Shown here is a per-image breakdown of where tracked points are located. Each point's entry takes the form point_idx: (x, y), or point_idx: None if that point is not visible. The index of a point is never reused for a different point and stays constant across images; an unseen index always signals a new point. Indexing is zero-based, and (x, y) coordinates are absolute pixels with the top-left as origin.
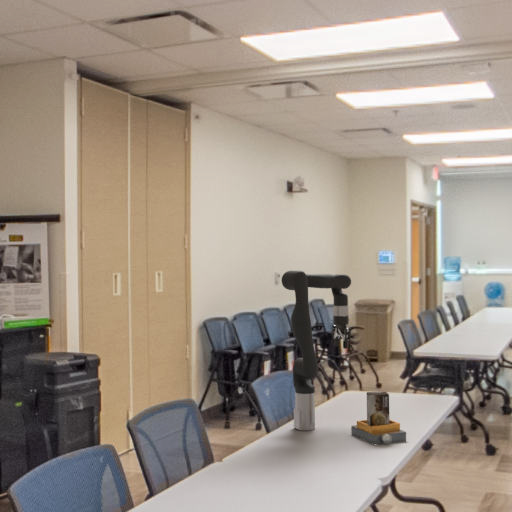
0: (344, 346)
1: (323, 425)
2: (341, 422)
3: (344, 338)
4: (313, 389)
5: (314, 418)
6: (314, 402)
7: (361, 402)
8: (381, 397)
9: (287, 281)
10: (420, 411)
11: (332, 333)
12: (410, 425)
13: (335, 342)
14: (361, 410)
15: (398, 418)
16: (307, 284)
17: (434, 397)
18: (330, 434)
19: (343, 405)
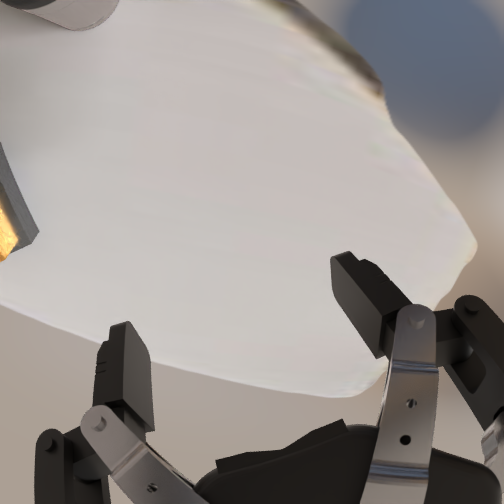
0: (112, 348)
1: (118, 61)
2: (153, 128)
3: (92, 446)
4: (5, 3)
5: (58, 24)
6: (38, 15)
7: (391, 246)
8: None
9: None
10: (257, 351)
11: (498, 334)
12: (107, 310)
13: (356, 286)
14: (309, 227)
15: (188, 300)
16: None
17: (363, 375)
18: (5, 79)
19: (380, 193)
